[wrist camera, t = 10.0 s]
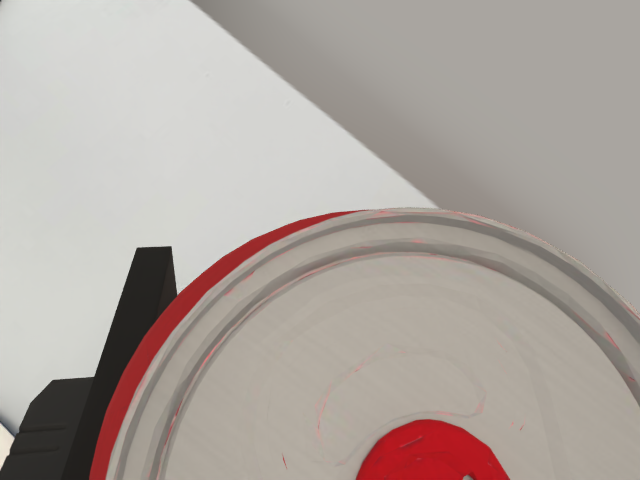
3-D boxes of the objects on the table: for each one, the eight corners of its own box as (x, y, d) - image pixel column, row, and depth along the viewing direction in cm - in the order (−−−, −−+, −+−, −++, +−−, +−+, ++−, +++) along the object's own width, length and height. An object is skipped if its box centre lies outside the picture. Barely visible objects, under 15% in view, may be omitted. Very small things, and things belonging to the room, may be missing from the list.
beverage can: (368, 298, 17) (613, 93, 5) (435, 501, 15) (966, 802, 4) (172, 356, 16) (-47, 247, 4) (225, 582, 14) (111, 1362, 3)
